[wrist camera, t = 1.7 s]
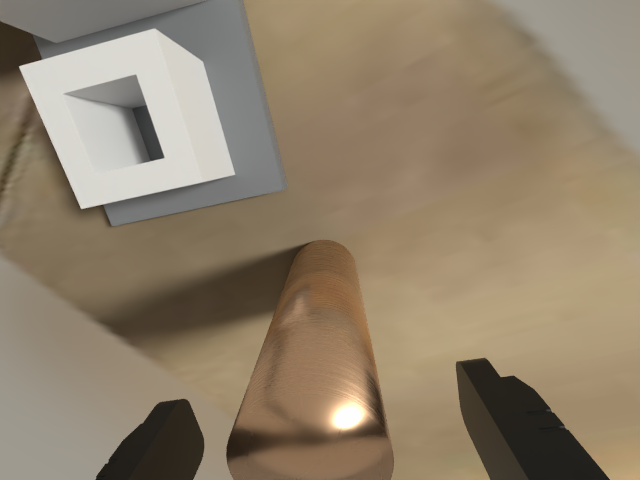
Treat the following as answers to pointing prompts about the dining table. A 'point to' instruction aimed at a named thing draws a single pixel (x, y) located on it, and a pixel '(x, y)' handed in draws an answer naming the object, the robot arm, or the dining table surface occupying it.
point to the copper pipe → (314, 382)
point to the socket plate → (151, 102)
